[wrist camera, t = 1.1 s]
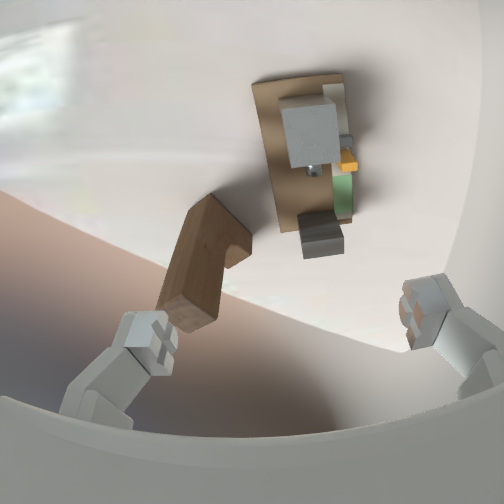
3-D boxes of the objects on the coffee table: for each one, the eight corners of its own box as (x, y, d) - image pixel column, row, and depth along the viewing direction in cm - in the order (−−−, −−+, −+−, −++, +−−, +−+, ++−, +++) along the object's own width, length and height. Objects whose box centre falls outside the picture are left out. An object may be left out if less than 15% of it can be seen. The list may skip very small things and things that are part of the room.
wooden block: (253, 234, 43) (250, 342, 29) (230, 250, 45) (218, 355, 31) (210, 191, 39) (182, 294, 25) (187, 210, 41) (152, 312, 27)
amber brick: (333, 150, 33) (341, 163, 29) (347, 149, 32) (357, 162, 29) (334, 158, 33) (342, 172, 30) (348, 156, 33) (357, 170, 30)
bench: (251, 84, 30) (249, 94, 24) (339, 73, 28) (359, 81, 22) (280, 226, 42) (283, 262, 36) (349, 216, 41) (363, 250, 35)
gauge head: (277, 99, 29) (281, 110, 25) (344, 91, 28) (361, 102, 24) (289, 166, 34) (294, 189, 30) (350, 158, 33) (365, 180, 29)
